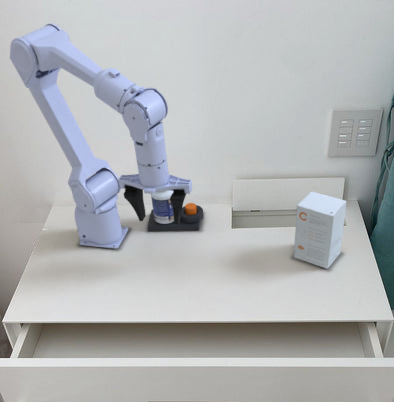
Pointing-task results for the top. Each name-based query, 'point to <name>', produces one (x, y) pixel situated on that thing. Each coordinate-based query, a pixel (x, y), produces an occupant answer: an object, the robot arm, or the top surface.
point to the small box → (319, 229)
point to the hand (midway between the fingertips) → (160, 220)
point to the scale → (184, 225)
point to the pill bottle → (162, 206)
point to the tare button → (190, 209)
